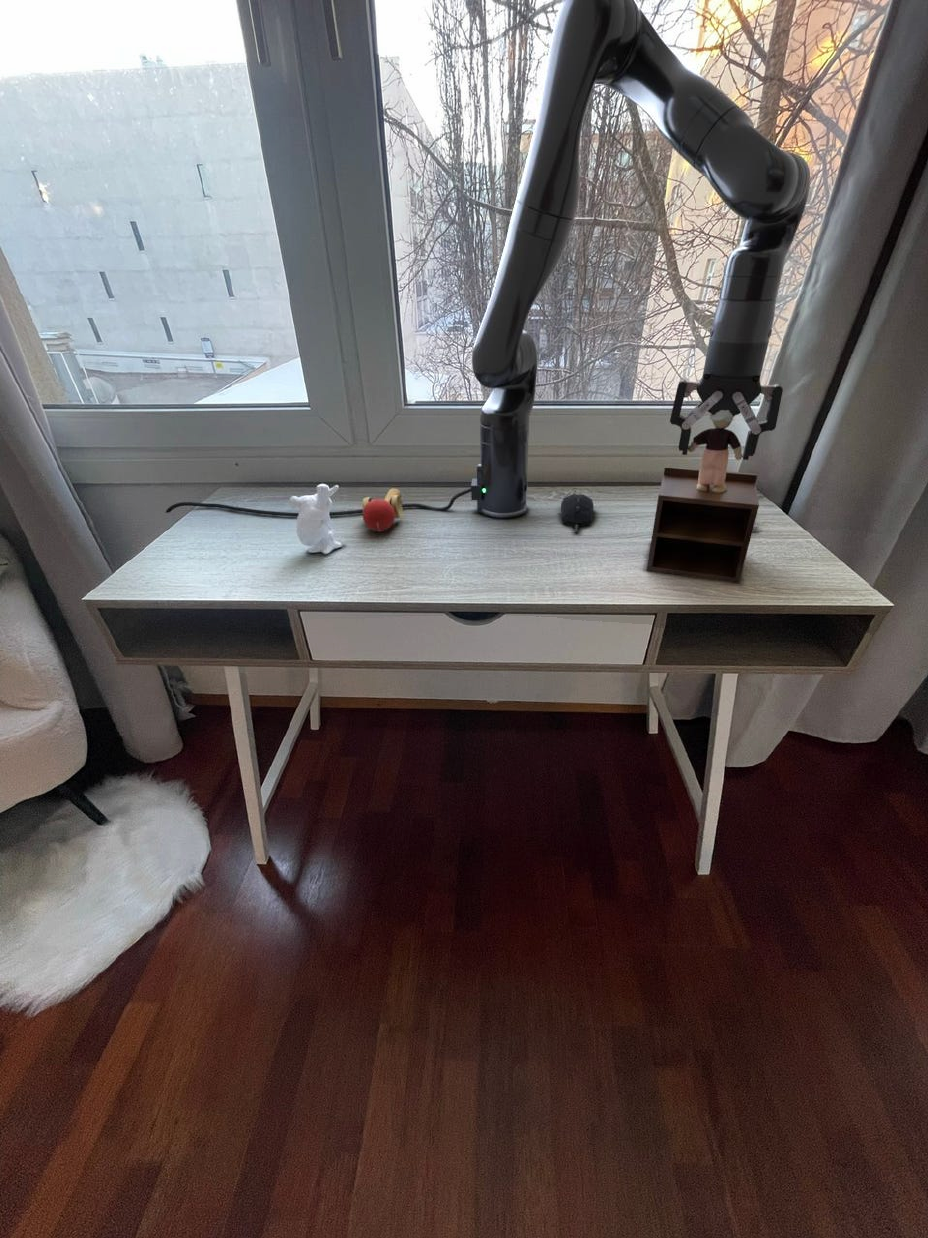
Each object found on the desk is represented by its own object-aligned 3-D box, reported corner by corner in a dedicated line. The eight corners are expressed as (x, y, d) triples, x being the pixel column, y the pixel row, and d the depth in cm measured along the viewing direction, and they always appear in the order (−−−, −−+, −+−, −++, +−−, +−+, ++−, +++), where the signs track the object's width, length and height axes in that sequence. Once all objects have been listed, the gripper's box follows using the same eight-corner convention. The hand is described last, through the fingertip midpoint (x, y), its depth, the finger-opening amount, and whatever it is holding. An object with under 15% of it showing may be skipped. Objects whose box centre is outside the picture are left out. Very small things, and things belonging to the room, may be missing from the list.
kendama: (373, 508, 126) (352, 530, 109) (377, 478, 123) (355, 496, 107) (409, 515, 126) (393, 538, 109) (413, 485, 123) (397, 505, 107)
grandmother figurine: (733, 486, 92) (753, 401, 85) (734, 495, 89) (754, 407, 82) (681, 482, 94) (696, 398, 87) (680, 489, 91) (696, 404, 84)
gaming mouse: (559, 532, 110) (560, 512, 107) (561, 504, 122) (562, 485, 120) (593, 534, 109) (595, 514, 106) (592, 505, 121) (594, 486, 119)
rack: (646, 570, 96) (659, 487, 89) (652, 543, 105) (665, 466, 97) (739, 583, 92) (761, 496, 84) (737, 554, 101) (757, 473, 93)
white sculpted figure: (349, 541, 108) (341, 477, 102) (343, 557, 102) (334, 490, 96) (303, 542, 108) (292, 478, 102) (294, 558, 102) (282, 492, 96)
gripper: (794, 335, 81) (764, 453, 89) (685, 332, 85) (666, 445, 94) (800, 341, 75) (767, 467, 83) (682, 338, 79) (663, 458, 88)
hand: (714, 455), depth 88 cm, fingers open, 8 cm apart
